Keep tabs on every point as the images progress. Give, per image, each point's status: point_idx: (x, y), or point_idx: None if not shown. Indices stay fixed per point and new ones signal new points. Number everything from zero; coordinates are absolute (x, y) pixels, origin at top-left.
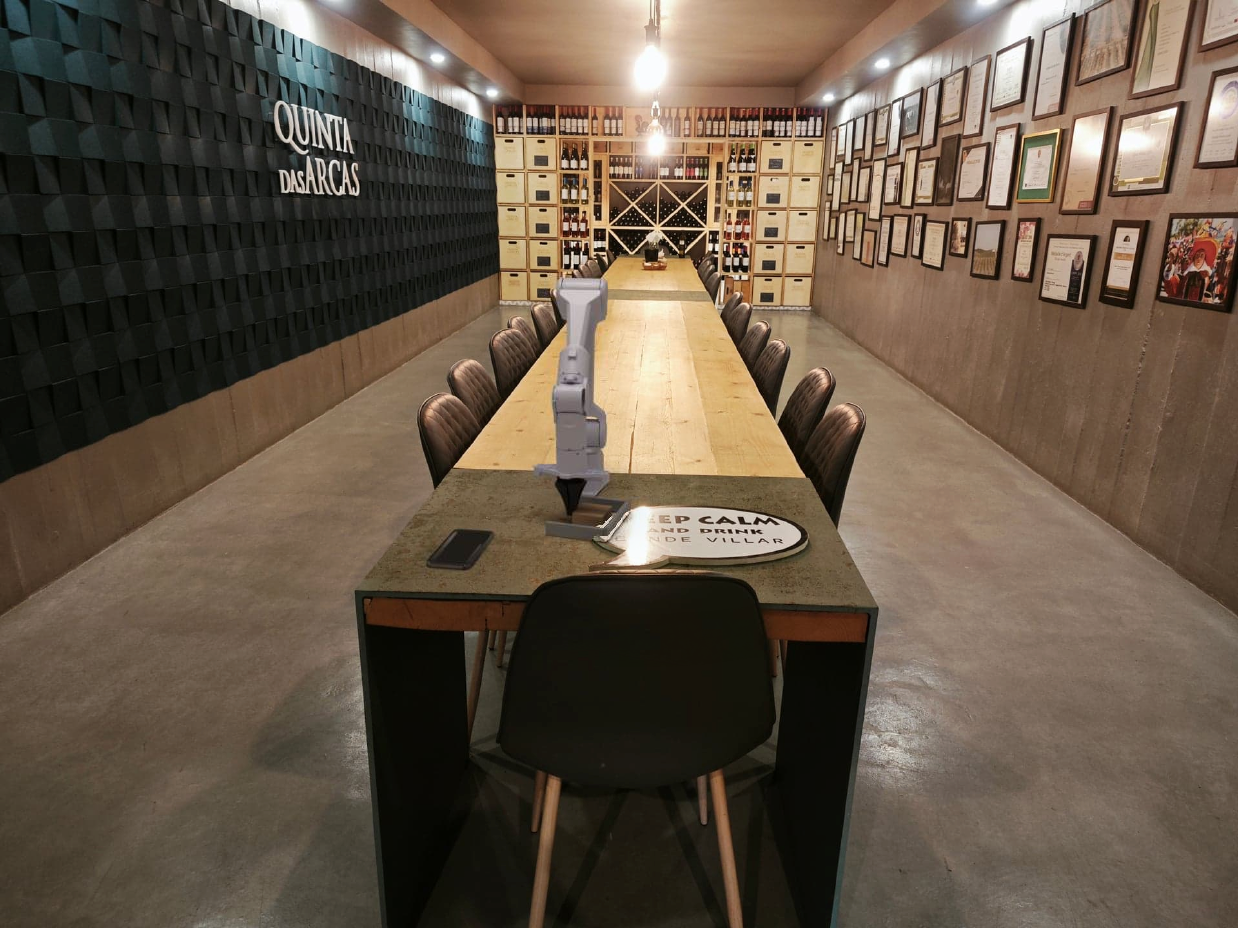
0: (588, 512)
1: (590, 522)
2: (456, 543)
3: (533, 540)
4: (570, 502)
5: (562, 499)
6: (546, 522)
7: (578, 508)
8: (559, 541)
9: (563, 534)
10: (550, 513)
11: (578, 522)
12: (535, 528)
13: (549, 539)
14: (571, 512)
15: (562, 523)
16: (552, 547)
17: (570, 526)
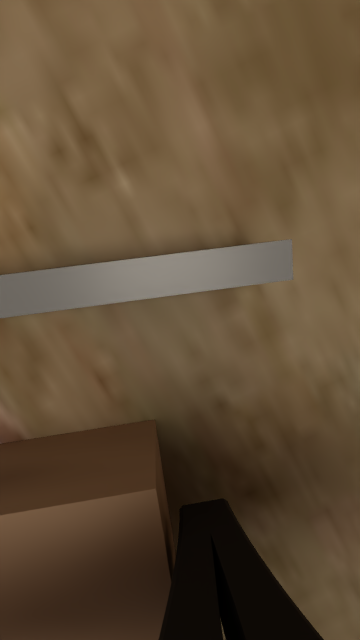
0: (42, 564)
1: (14, 473)
2: None
3: (288, 124)
4: (211, 614)
5: (310, 625)
6: (282, 241)
7: (160, 590)
8: (118, 184)
9: (125, 259)
10: (352, 523)
11: (108, 450)
12: (352, 310)
13: (196, 187)
14: (192, 523)
15: (137, 282)
16: (109, 57)
17: (46, 270)
